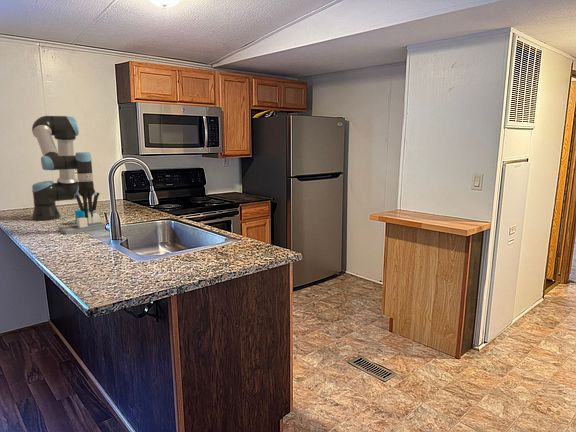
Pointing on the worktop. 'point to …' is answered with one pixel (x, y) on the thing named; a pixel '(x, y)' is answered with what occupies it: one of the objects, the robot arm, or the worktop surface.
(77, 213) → the mug
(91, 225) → the switch bank
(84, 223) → the tab
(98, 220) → the tab
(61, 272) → the worktop surface
